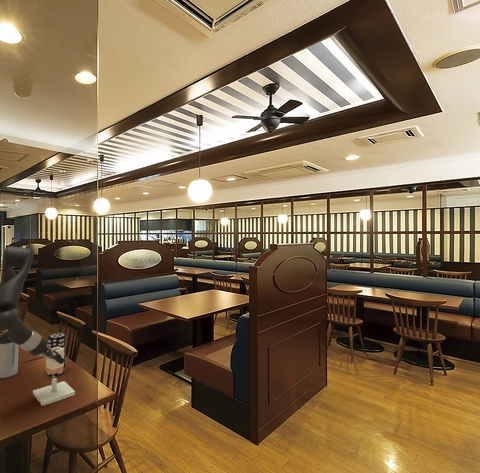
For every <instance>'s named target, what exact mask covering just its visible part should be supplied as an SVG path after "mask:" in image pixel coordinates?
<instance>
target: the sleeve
mask: <svg viewBox="0 0 480 473" xmlns="http://www.w3.org/2000/svg"><path fill="white" fill-rule="evenodd" d="M52 350H55V351H56V352H57V353H59V354H60V355H61V357H62V358H63V359H64V348H60V347H55V348H52ZM49 357H51V356H49ZM45 358H46V359H45V360H46V361H45V362H46V363H45V373H46V374H47V373H50V374H52V375H53V374H55V373H58V372H61V371H63V369H64V362H63V363H62V364H60V363H58V362H57V361H54V360H53V359H49V358H47V357H45Z"/></svg>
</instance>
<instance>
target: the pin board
mask: <svg viewBox="0 0 480 473" xmlns="http://www.w3.org/2000/svg"><path fill="white" fill-rule="evenodd" d="M32 395H33V396H34V398H35V399H36V398H37V399H36V400H37V401H38V403H39V402H40V403H39V404H40V406H42V407H44V406H47V405H49V404H52V403H56V402H58V401H62V400H64V399H67V398H70V397H72V396H75V395H76V391H75V390H74V388H72V387H71V386H70V385H69V384H68V383H67V382H66V381H65V380H64V381H60V382H58V379H57V377H52V379H51V384H50V385H47V386H43V387H41V388H37V389H33V390H32ZM46 404H47V405H46ZM43 405H44V406H43Z"/></svg>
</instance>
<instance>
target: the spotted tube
mask: <svg viewBox="0 0 480 473" xmlns="http://www.w3.org/2000/svg"><path fill="white" fill-rule="evenodd" d="M47 341H48V345H47V347H50V348H55V347H60V348H64V360H65V361H64V369H63V371H61V372H58V373H55V374H53V375H52V374H50V373H47V372H46V377H48V378H57V377H60V376H63V375H64V374H65V373H66V362H67V361H66V357H67V355H66V354H67V333H66V332H56V333H52V334H50V335H48V336H47Z"/></svg>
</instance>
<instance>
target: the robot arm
mask: <svg viewBox="0 0 480 473" xmlns="http://www.w3.org/2000/svg"><path fill="white" fill-rule="evenodd" d="M33 259H34V250H33V249H32V248H27V247H20V246H12V245H8V246H7V247H5V248H4V251H3V253H2V259H1V260H2V261H1V276H0V333H1V332H3V333H1V334H0V379H5V378H9V377H13V376H15V375H17V374H18V371H19V370H18V368H19V364H18V363H19V347H20V349H22V350H24V351H25V352H27V353H28V354H29V355H32V356H33V357H35V356H39V355H40V356H42V357H43V358H46V357H47V358H49V359H53V360H54V361H57V362H58V363H60V364H62V363H63V362H64V361H65V360H64V359H63V358H62V357H61V355H60V354H59V353H57V352H56V351H55V350H52V348H50V347H48V339H47V338H45V337H43V336H42V335H41V334H39V333H37V332H36V331H34V330H32V329H31V328H30V327H28V326H27V325H25V323H24V321H23V320H22V319H21V311H20V310H19V309H18V308H17V306H18V303H19V299H20V298H21V296H22V294H23V289H24V283H25V281H26V279H27V277H28V274H29V272H30V269H31V267H32V262H33ZM13 268H18V269H19V268H20V270H19V271H18V272H17V273H16V272H15V271H14V269H13ZM7 330H8V331H7ZM4 331H5V332H4ZM49 356H51V357H49Z"/></svg>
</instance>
